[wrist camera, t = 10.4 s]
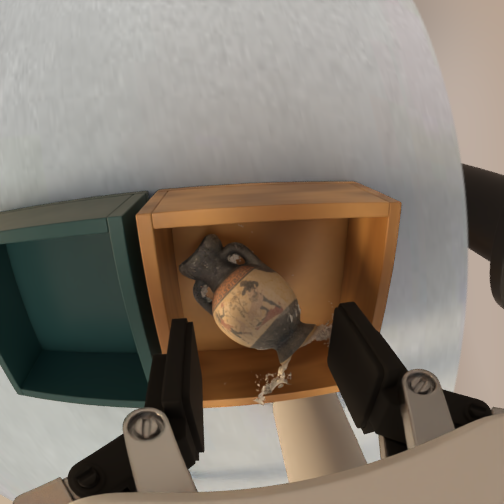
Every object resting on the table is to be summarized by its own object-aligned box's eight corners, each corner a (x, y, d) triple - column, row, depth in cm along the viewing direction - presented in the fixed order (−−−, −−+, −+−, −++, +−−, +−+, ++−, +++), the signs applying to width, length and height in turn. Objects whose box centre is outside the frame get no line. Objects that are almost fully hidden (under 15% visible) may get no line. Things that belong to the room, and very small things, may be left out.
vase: (231, 336, 17) (154, 268, 14) (307, 275, 17) (240, 193, 14) (258, 408, 12) (153, 341, 10) (358, 334, 12) (282, 234, 9)
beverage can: (313, 364, 20) (375, 522, 9) (344, 393, 22) (401, 523, 10) (258, 399, 21) (287, 553, 9) (294, 423, 22) (329, 552, 11)
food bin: (355, 181, 15) (402, 202, 11) (339, 337, 19) (365, 386, 15) (158, 189, 14) (134, 214, 10) (182, 352, 18) (177, 408, 14)
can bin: (148, 190, 14) (121, 215, 10) (174, 353, 18) (168, 408, 14) (-2, 212, 13) (-50, 239, 9) (42, 350, 17) (17, 394, 13)
